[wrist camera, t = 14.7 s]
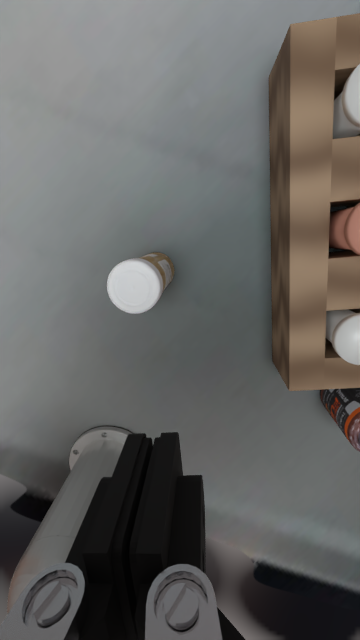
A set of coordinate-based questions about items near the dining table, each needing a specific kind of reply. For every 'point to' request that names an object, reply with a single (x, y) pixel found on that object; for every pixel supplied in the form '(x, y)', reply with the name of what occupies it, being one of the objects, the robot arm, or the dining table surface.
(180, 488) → the robot arm
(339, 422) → the supplement bottle
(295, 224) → the socket board
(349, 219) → the brick plug
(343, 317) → the grey plug
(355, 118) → the grey plug
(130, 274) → the sprinkles bottle
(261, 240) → the dining table surface
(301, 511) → the dining table surface
